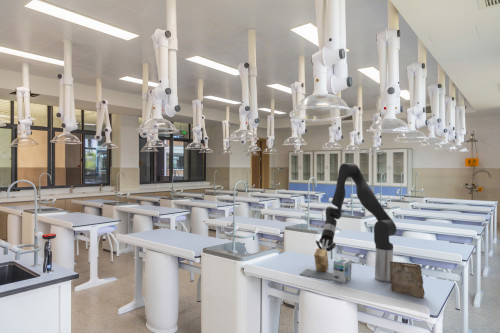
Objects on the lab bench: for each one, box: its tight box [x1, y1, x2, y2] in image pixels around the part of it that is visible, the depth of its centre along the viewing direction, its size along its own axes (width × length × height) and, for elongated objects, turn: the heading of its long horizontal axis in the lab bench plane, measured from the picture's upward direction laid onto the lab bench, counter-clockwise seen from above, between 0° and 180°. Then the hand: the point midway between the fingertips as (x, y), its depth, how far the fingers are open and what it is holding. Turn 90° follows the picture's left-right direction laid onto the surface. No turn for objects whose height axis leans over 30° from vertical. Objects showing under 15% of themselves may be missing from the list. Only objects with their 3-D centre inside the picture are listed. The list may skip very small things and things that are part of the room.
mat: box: [299, 268, 333, 281], centre depth 189 cm, size 18×13×1 cm
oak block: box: [313, 248, 329, 272], centre depth 195 cm, size 6×6×12 cm
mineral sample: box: [389, 261, 426, 299], centre depth 163 cm, size 17×4×15 cm, turn 47°
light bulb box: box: [332, 257, 353, 284], centre depth 182 cm, size 11×7×11 cm, turn 143°
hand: (322, 255), depth 198 cm, fingers closed
